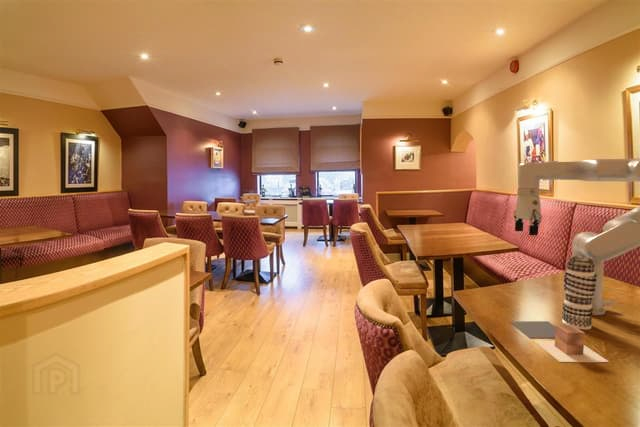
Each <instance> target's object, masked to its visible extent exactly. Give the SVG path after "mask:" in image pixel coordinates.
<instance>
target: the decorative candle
mask: <svg viewBox="0 0 640 427" xmlns="http://www.w3.org/2000/svg"><path fill="white" fill-rule="evenodd" d="M566 261H567V264H566V266H567V267H566V271H565V272H564V275H563V278H564V279H563V282H564V283H563V292H564V293H565V294H564V299H563V300H564V301H563V303H562V305H563V307H562V310H563V311H562V312H561V314H562V315H561V319H562V321H561V322H562V324H563V325H573V326H575V327H576V328H578V329H579V330H591V329H592V326H593V322H592V321H593V319H594V318H593V315H592V314H593V313H592V311H593V308H592V297H594V294H593V293H592V292H593V291H595V289H594V288H592V287H595V286H596V285H595V284H594V283H593V281H594V282H595V281H597V280H596V279H595V277H597V275H596V274H595V271H594V266H595V264H596V263H595V262H593V261H592V259H591V258H588V257H584V256H573V255H572V256H570V257H569V258H567V259H566ZM593 276H594V278H593Z"/></svg>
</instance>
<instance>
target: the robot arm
mask: <svg viewBox="0 0 640 427" xmlns="http://www.w3.org/2000/svg"><path fill="white" fill-rule="evenodd" d="M517 173H518V174H517V176H518V178H517V194H516V196H517V197H516V202H515V203H516V204H515V210H513V218H514V222H515V223H514V231H515V232H523V231H524V220H525V221H528V222H529V224H530V225H529V227H528V236H539V235H538V234H539V226H540V223H541V221H542V219H543V215H542V214H541V212H542V210H541V209H542V208H541V199H540V196H539V195H540V183H541V182H540V180H544V181H545V180H546V181H555V180H556V181H558V180H559V181H565V180H566V181H567V180H568V181H571V180H572V181H582V182H583V181H584V182H633V183H634V182H640V158H595V159H585V160H580V161H578V160H577V161H575V160H574V161H557V160H551V161H545V162H537V161H536V162H534V161H532V162H531V161H530V162H521V163H519V165H518V172H517ZM571 242H572V243H571V251H572V256H584V257H588V258H591V259H592V261H593V262H595V263H596V264H595V266H594V271H595V274H596V275H597V277H595V279H596V280H597V281H595V282H594V281H593V283H594V284H595V285H596V286H595V287H592V288H594V289H595V291H593V292H592V293H593V294H594V297H592V308H593V311H592V313H593V314H592V316H603V315H605V314H606V312H607V311H606V309H605V307H606V306H607V307H612V306H614V302H613V301H611V300H605V299H602V293H603V280H604V270H605V267H604V266H605V265H604V263H605V262H606V261H610V260H612V259H614V258H617V257H619V256H621V255H623V254H626V253H628V252H630V251H632V250H634V249H636V248H639V247H640V204H639V205H638V206H636V207H635V208H632V209H631V210H629V211H627V212H625V213H623V214H620V215H618V216H617V217H614V218H613V219H610V220H608V221H607V222H605V224H603V227H602V233H596V232H592V231H582V232H580V233H577V234H576V235H575V236H574V238H573V239H572V241H571ZM593 278H594V276H593Z"/></svg>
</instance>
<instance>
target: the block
mask: <svg viewBox="0 0 640 427" xmlns="http://www.w3.org/2000/svg"><path fill="white" fill-rule="evenodd" d="M555 326H556V332H555V338H554V341H555V347H557V348H558V349H559V350H561V351H562V352H563V353H565V354H566V355H583V351H584V345H585V337H586V335H585V334H586V333H585V331H582V329H578V328H576V327H575V326H573V325H565V324H563V325H562V324H556V325H555Z"/></svg>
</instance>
